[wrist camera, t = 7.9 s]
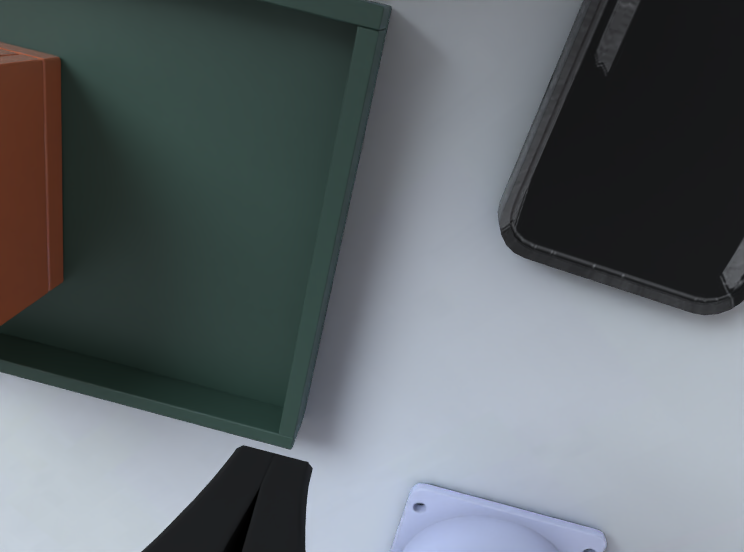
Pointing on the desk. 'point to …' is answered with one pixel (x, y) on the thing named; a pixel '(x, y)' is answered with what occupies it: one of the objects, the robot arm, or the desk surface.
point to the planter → (29, 178)
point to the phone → (640, 154)
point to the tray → (198, 200)
